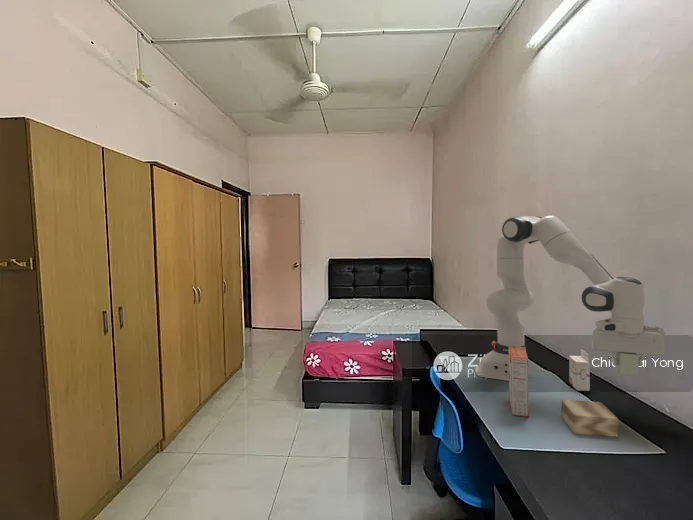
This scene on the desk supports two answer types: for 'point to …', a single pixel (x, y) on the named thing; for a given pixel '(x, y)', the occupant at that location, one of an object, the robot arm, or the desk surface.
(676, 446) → the desk surface
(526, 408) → the cracker box
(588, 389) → the ink cartridge box
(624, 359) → the sage block
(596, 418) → the ash plinth
